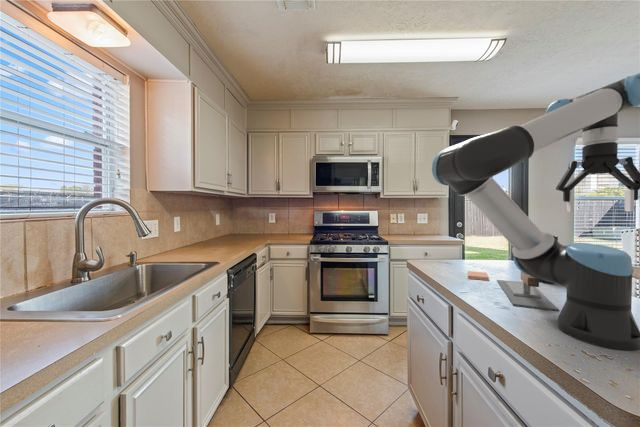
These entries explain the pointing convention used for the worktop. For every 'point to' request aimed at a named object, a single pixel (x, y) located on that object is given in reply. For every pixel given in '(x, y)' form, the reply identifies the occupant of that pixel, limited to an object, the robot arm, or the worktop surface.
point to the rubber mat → (528, 299)
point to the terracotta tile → (477, 275)
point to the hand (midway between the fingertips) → (598, 211)
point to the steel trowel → (524, 286)
